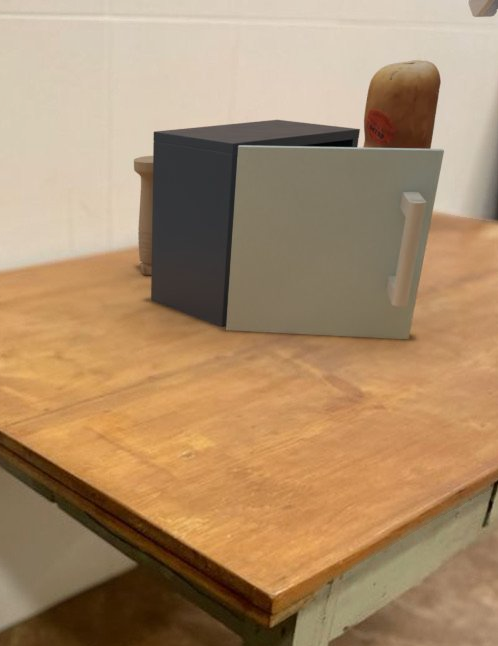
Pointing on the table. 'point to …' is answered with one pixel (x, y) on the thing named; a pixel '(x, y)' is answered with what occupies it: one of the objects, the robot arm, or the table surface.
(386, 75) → the butternut squash
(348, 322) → the door
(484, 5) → the robot arm
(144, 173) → the handle
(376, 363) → the table surface
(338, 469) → the table surface
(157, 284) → the cupboard
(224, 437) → the table surface
